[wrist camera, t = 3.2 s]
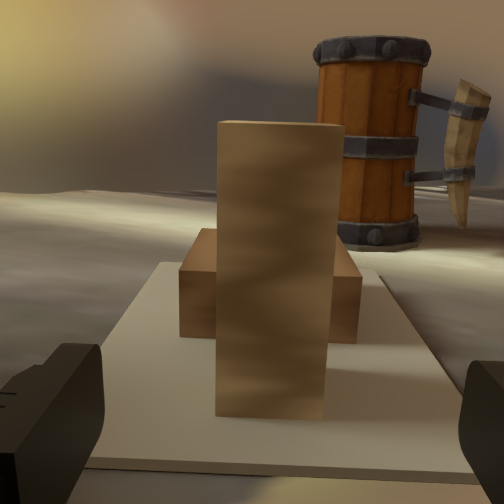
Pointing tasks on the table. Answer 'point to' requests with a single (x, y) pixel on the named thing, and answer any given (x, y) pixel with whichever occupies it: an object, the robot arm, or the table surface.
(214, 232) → the walnut base
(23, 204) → the table surface
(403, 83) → the mug
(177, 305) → the build mat
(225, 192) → the maple pillar
